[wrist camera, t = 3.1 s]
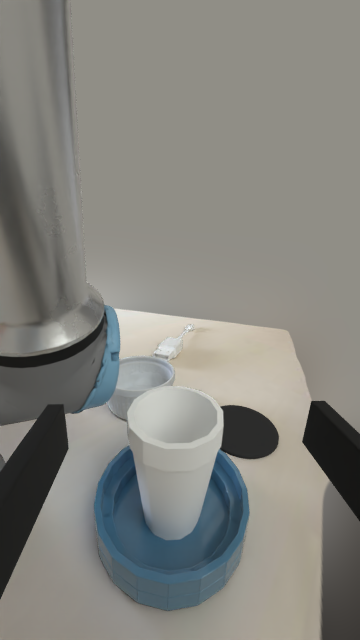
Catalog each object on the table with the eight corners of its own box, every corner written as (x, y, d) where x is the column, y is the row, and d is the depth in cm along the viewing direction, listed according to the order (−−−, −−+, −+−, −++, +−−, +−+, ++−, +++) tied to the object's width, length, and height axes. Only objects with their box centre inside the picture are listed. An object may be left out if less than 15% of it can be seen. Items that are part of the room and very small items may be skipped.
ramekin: (91, 423, 41) (88, 387, 39) (116, 382, 54) (115, 353, 52) (169, 430, 40) (170, 393, 38) (176, 386, 53) (178, 357, 51)
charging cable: (198, 330, 92) (198, 322, 91) (170, 364, 62) (170, 352, 61) (185, 328, 93) (185, 320, 92) (151, 361, 63) (151, 349, 62)
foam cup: (221, 489, 30) (232, 398, 27) (199, 578, 22) (210, 464, 18) (153, 463, 34) (154, 378, 30) (111, 532, 25) (106, 428, 22)
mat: (189, 427, 41) (190, 425, 41) (230, 399, 49) (231, 397, 49) (254, 474, 33) (254, 471, 33) (290, 431, 41) (291, 429, 41)
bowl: (71, 507, 28) (68, 481, 27) (174, 436, 39) (175, 416, 38) (164, 681, 17) (165, 650, 16) (271, 515, 28) (276, 490, 27)
